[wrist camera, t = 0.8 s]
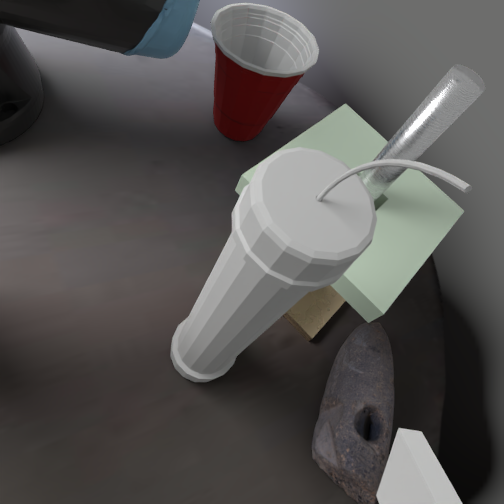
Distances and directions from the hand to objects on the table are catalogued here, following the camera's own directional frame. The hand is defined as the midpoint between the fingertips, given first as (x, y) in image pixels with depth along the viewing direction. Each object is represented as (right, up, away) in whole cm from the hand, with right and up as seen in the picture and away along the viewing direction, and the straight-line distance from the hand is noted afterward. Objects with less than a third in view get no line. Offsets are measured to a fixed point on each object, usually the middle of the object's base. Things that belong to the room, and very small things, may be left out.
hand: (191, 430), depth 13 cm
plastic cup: (0, +21, +37) cm, 42 cm away
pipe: (-3, -3, +23) cm, 23 cm away
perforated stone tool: (+10, -8, +25) cm, 28 cm away
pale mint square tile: (+10, +9, +21) cm, 25 cm away
